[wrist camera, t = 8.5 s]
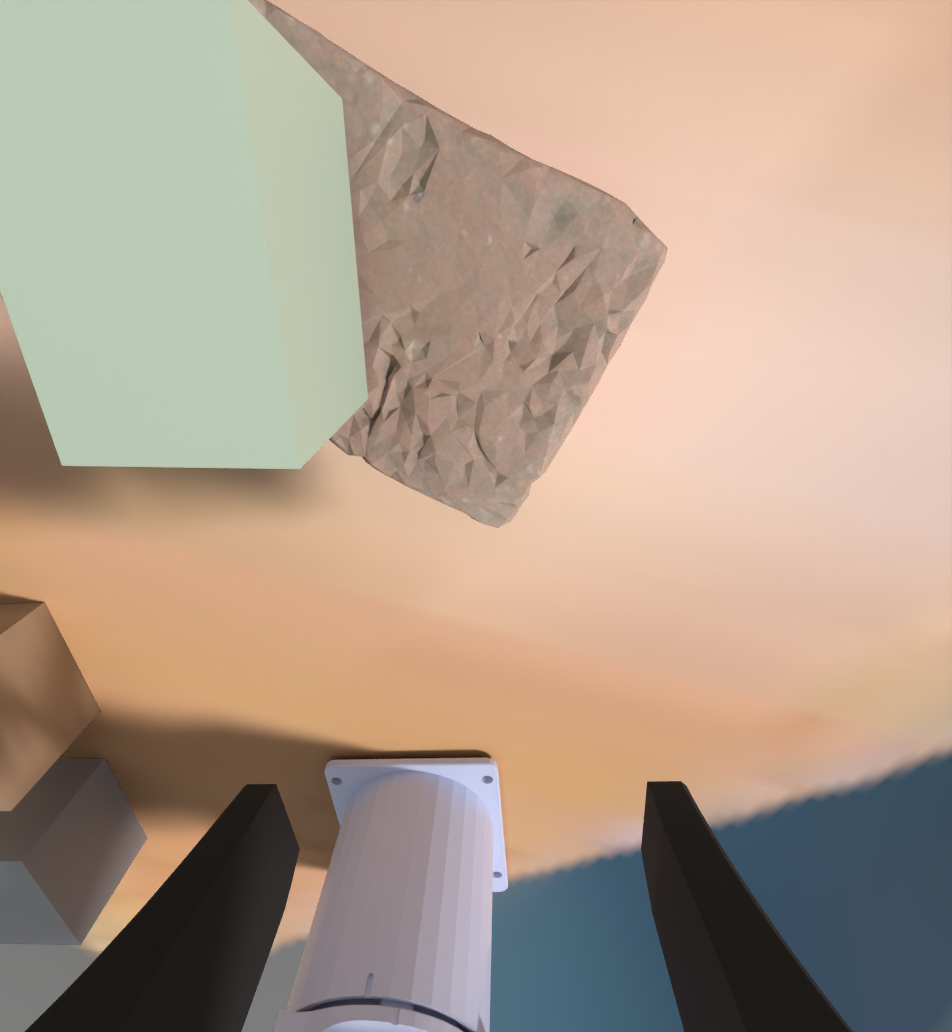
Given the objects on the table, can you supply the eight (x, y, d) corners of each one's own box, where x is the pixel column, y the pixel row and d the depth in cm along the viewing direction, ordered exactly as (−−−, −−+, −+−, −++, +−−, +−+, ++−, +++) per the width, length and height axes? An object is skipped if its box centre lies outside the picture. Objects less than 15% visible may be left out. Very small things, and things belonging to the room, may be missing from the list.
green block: (367, 399, 13) (300, 469, 9) (209, 397, 13) (61, 465, 9) (342, 98, 11) (226, -23, 6) (146, 101, 11) (-109, -17, 6)
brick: (36, 252, 16) (-126, 250, 12) (72, -90, 13) (-135, -258, 9) (511, 480, 19) (513, 544, 15) (644, 244, 16) (697, 239, 11)
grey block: (147, 836, 28) (80, 945, 24) (77, 836, 29) (-3, 943, 24) (105, 756, 26) (21, 861, 21) (29, 757, 26) (-70, 860, 22)
